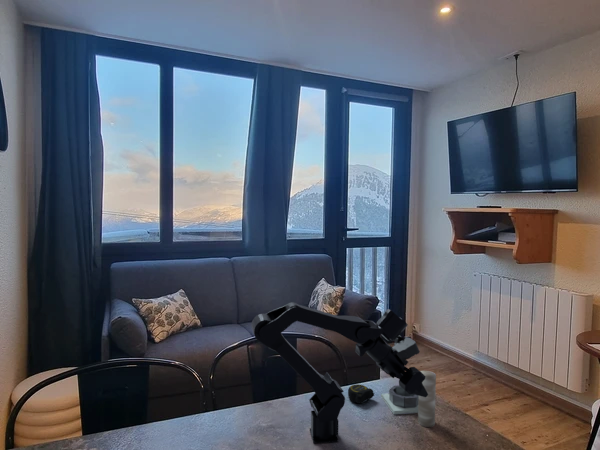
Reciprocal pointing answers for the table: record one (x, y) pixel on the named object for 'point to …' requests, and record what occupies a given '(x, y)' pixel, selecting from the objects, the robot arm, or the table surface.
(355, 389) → the tape measure
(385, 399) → the collar board
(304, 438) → the table surface
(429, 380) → the peg
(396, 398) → the collar
